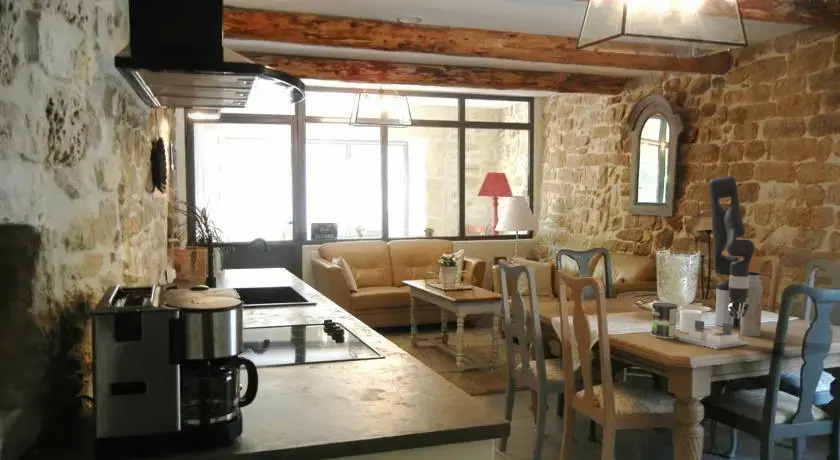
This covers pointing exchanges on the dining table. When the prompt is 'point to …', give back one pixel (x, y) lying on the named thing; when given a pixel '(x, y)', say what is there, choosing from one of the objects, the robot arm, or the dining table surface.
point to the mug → (688, 319)
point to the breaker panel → (710, 344)
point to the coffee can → (664, 320)
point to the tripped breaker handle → (727, 327)
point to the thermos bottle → (753, 307)
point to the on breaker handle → (699, 325)
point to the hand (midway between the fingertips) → (736, 326)
